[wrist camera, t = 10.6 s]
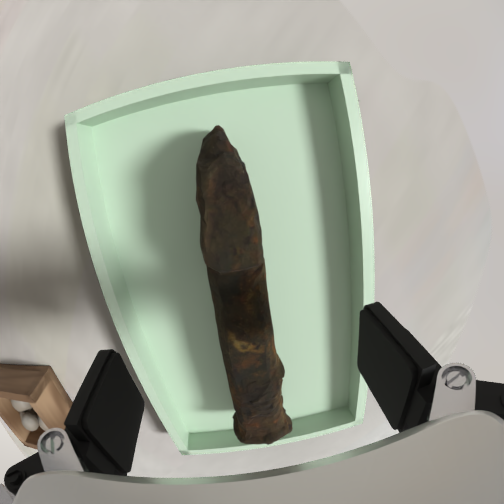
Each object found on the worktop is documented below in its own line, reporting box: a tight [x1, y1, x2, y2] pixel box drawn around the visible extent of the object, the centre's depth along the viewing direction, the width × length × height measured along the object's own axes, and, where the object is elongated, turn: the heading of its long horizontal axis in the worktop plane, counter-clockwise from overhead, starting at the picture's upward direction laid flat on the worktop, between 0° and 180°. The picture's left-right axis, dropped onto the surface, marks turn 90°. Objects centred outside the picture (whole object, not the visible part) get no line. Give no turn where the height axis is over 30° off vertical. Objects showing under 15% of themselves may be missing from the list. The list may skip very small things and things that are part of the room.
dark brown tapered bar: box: [196, 125, 293, 445], centre depth 15 cm, size 19×4×5 cm, turn 5°
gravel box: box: [0, 364, 73, 449], centre depth 17 cm, size 8×8×4 cm
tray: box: [64, 61, 374, 455], centre depth 16 cm, size 25×15×2 cm, turn 9°
